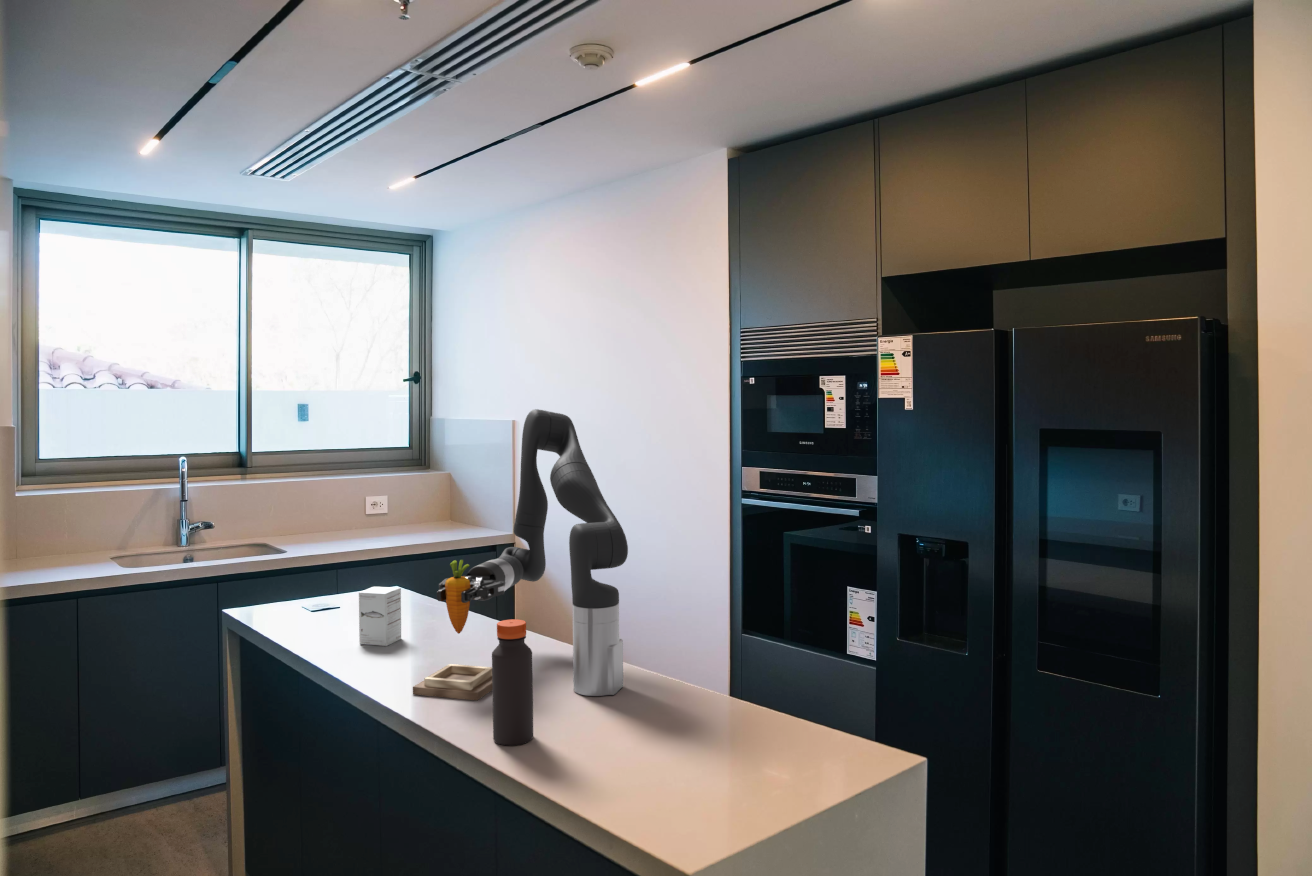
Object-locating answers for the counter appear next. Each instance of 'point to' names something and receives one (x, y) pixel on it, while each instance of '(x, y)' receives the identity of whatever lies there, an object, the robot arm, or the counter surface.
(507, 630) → the bottle
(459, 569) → the carrot
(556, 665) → the counter surface
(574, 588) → the robot arm
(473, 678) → the beige wooden tray
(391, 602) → the supplement box
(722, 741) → the counter surface
